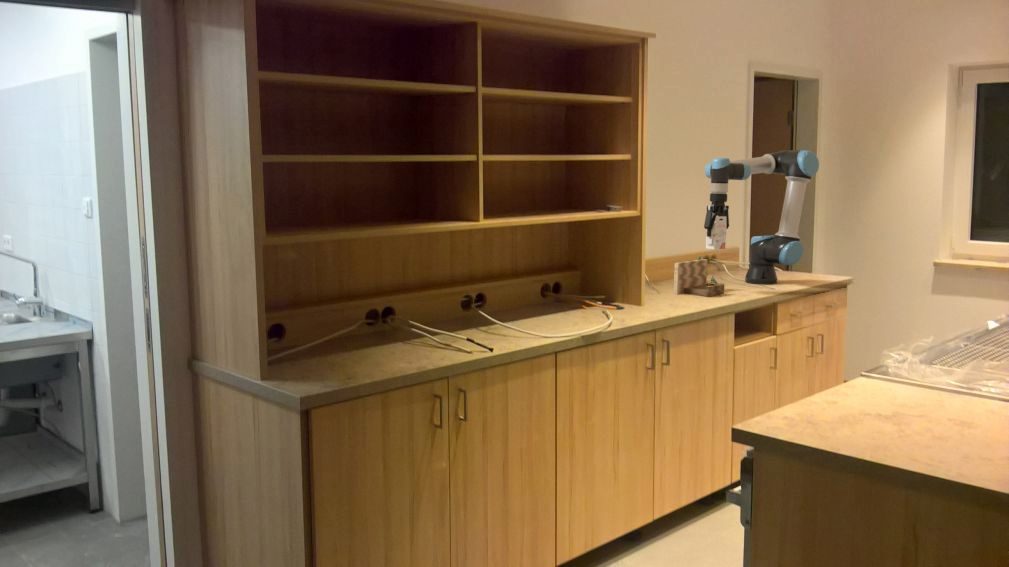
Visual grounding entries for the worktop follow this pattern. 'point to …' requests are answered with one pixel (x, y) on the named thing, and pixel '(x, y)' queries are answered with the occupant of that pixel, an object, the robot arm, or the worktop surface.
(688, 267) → the brown wooden bookend
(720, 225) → the ink cartridge box
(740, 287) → the worktop surface
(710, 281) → the yellow and green bunch
